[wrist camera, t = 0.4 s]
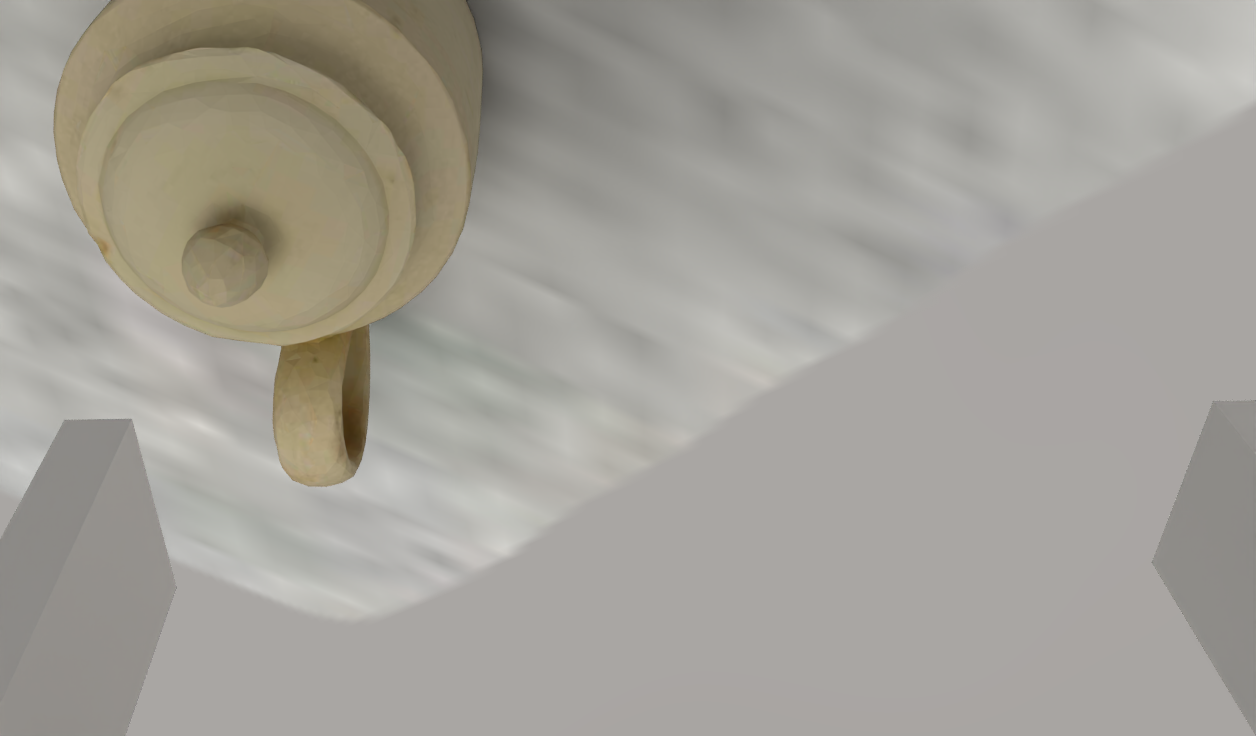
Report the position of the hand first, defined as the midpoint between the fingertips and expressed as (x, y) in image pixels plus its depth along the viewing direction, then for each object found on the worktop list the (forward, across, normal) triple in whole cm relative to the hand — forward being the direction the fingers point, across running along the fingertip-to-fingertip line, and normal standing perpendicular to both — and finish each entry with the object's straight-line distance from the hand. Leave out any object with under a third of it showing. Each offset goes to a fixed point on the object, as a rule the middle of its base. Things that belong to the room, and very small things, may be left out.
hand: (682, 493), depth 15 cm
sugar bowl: (+27, -8, -6) cm, 29 cm away
